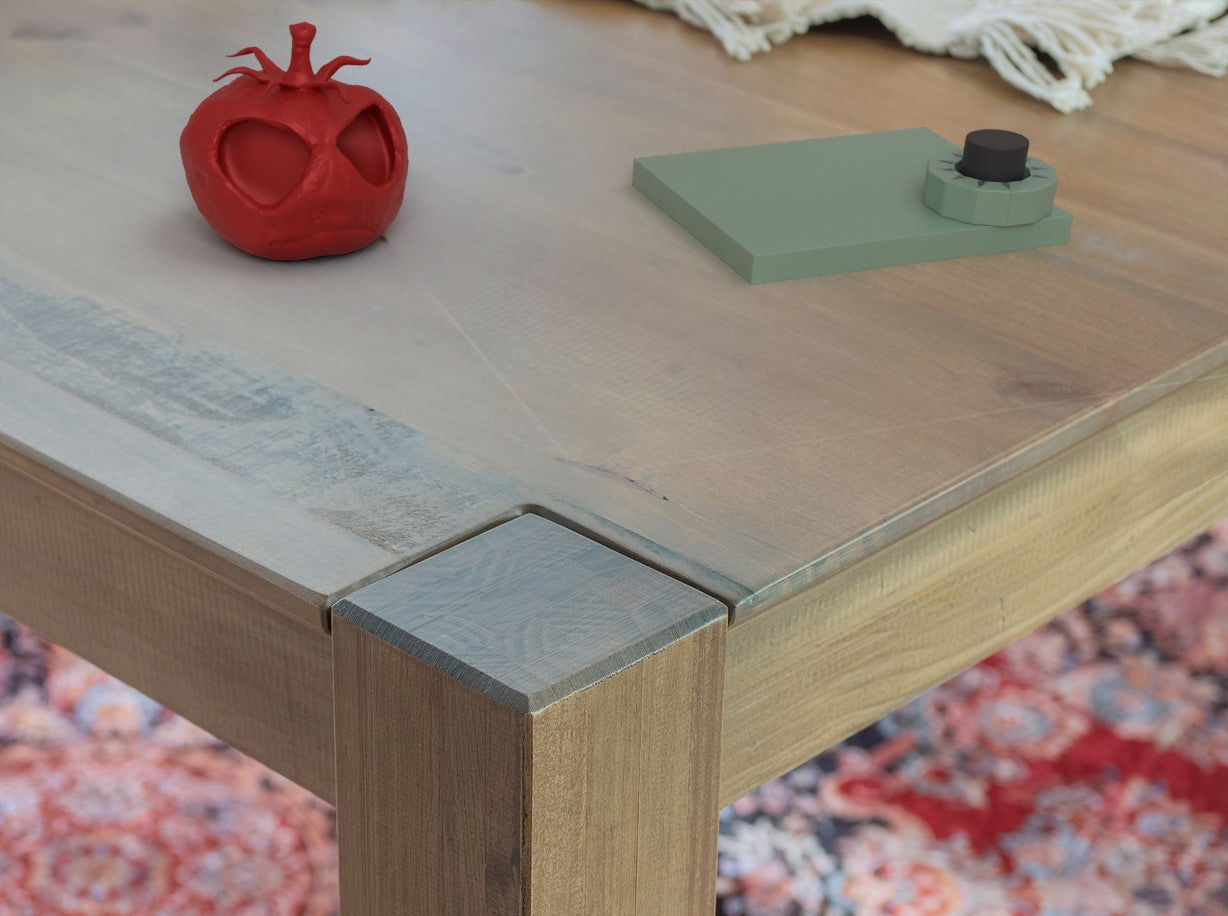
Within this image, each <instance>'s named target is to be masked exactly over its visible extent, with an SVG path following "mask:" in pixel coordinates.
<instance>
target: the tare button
mask: <svg viewBox="0 0 1228 916" xmlns="http://www.w3.org/2000/svg"><path fill="white" fill-rule="evenodd" d="M963 149H964V151H963V157H962V163H961V169H960V174H962V175H963V176H966V177H970V178H973V179H977V180H981V181H987V182H1001V183H1007V182H1016V181H1022V180H1023V176H1024V171H1025V165H1026V160H1027V155H1029V149H1030V139H1029V138H1028V137H1026V136H1025V135H1023V134H1021V133H1018V132H1015V131H1010V130H1005V129H999V128H986V129H985V128H982V129H976V130H973V131H970V132H968V133H967V134H966V135H965V139H964V145H963Z"/></svg>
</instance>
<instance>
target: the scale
mask: <svg viewBox="0 0 1228 916" xmlns="http://www.w3.org/2000/svg"><path fill="white" fill-rule="evenodd" d="M963 151H964V148H961V147H960V146H958V145H956V144H954V143H953V142H952V141H950V140H948V139H947V138H945V137H943V136H942V135H940V134H938V133H937V132H935V131H933V130H932V129H930V128H928V127H926V126H921V127H912V128H911V127H910V128H902V129H893V130H884V131H876V132H875V131H874V132H866V133H856V134H847V135H838V136H828V137H820V138H811V139H800V140H792V141H783V142H782V141H781V142H773V143H765V144H755V145H745V146H736V147H726V148H718V149H708V150H699V151H690V152H681V153H671V154H663V155H662V154H661V155H654V156H653V155H652V156H644V157H643V156H642V157H635V158H633V164H632V178H631V179H632V182H631V186H632V187H633V188H634V189H636V190H637V191H638V192H639V193H641V194H642V195H643V196H644V197H645V198H646V199H647V200H648V201H650V202H651V203H653V205H655V206H656V207H657V208H658V209H659V210H660V211H662V212H663V213H664V214H665V215H667V216H668V217H669V218H671V219H672V221H674V222H675V223H676V224H677V225H679V226H680V227H681V228H682V229H683V230H685V231H686V232H687V233H688V234H689V235H690V236H692V237H693V238H694V239H695V240H696V241H698V242H699V243H700V244H701V245H702V246H703V247H705V248H706V249H707V250H708V251H710V252H711V253H712V254H713V255H714V256H716V257H717V258H718V259H720V261H721V262H722V263H724V264H725V265H726V266H727V267H729V268H730V269H731V270H732V271H733V272H735V274H737V275H738V276H740V278H742V279H743V280H744V281H745V282H746V283H748V284H749V285H750V286H756V285H763V284H771V283H780V282H786V281H787V282H788V281H794V280H801V279H807V278H808V279H810V278H817V277H825V276H831V275H833V276H834V275H837V274H838V275H839V274H848V273H855V272H863V271H869V270H871V271H872V270H879V269H884V268H893V267H900V266H909V265H916V264H923V263H931V262H939V261H946V260H953V259H954V260H955V259H961V258H970V257H978V256H983V255H984V256H985V255H992V254H999V253H1008V252H1015V251H1023V250H1031V249H1039V248H1045V247H1054V246H1060V245H1068V244H1069V239H1070V235H1071V234H1070V233H1071V229H1072V225H1073V219H1074V215H1073V214H1072V213H1069V212H1068V211H1066V210H1064V209H1063V208H1061V207H1059V206H1058V205H1056V204H1055V202H1054V201H1055V198H1056V193H1057V186H1058V182H1059V178H1058V173H1057V169H1056V168H1055V167H1054V166H1052V165H1050V164H1048V163H1047V162H1045V161H1043V160H1042V159H1041V158H1038V157H1035V156H1032V155H1029V154H1027V160H1026V165H1025V171H1024V176H1023V180H1022V181H1016V182H1007V183H1001V182H987V181H981V180H977V179H973V178H970V177H966V176H963V175H962V174H960V169H961V163H962V157H963Z"/></svg>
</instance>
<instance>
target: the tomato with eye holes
mask: <svg viewBox="0 0 1228 916" xmlns="http://www.w3.org/2000/svg"><path fill="white" fill-rule="evenodd" d="M288 29H289V34H290V37H291V51H290V61H289V66H288V68H287V70H286V71H285V70H283V69H282V68H280V67H279V66H278V65H277V64H276V63H275V62H274V61H273V60H271V59H270V58H269V57H268V56H267V55H266V54H265V52H264V51H263V50H262V49H261V48H259V47H258V46H246V47H244V48H242V49H241V50H239V51H237V52H236V53H234V54H230V55H227V54H226V55H225V58H237V57H242V56H247V55H250V54H254V57H255V58H256V60H257V61H258V63H259V65H260V67H261V69H260V70H256V69H253V68H250V67H248V66H236V67H233V68H231V69H228V70H227V71H225V72H224V73H222V74H221V75H220V76H218V77H217V78H215V79H212V82H213V83H217V82H219V81H221V80H223V79H224V78H226V77H228V76H230V75H239V74H240V75H239V76H237V77H236V78H235V79H233V80H232V81H230V82H229V83H228V84H225V85H223V86H222V87H219V88H218V89H216V90H215V91H213V93H211V94H209V96H207V97H205V98H204V99H203V100H202V101H201V103H200V104H198V106H197V107H196V108H195V109H194V111H193V112H192V113H191V115H190V116H189V119H188V121H187V123H186V125H185V127H183V129H182V131H181V133H180V137H179V141H178V145H179V153H180V158H181V162H182V167H183V170H184V174H185V179H186V183H187V186H188V188H189V191H190V195H191V197H192V200H193V201H194V203H195V206H196V208H197V209H198V212H199V213H200V214H201V216H202V217H203V218H204V219H205V221H206V223H207V224H208V225H209V226H210V227H211V228H212V229H214V230H215V231H216V232H217V233H218V235H219V236H220V237H221V238H222V239H224V240H225V241H226V242H228V243H230V244H231V245H233V246H234V247H236V248H237V249H239V250H241V251H243V252H245V253H247V254H249V255H251V256H254V257H259V258H264V259H267V260H268V259H269V260H274V261H299V260H308V259H312V258H318V257H324V256H333V255H335V256H336V255H346V254H347V253H352V252H356V251H358V250H361V249H363V248H366V247H368V246H369V245H371V244H372V243H373V242H374V241H376V239H378V238H379V237H380V236H381V235H382V234H383V233H384V232H385V231H386V230H387V229H388V228H389V227H390V226H391V224H392V223H393V222H394V221H395V219H396V218H397V216H398V215H399V212H400V209H401V207H402V205H403V202H404V198H405V190H406V184H407V178H408V174H409V163H410V160H409V146H408V145H409V144H408V142H407V141H408V140H407V139H408V138H407V136H406V132H405V129H404V126H403V124H402V123H403V122H402V120H401V118H400V116H399V113H398V112H397V111H396V109H395V107H394V105H393V104H392V103H390V102H389V101H388V100H387V99H386V98H385V97H384V96H383V95H382V94H381V93H379V92H377V90H374V89H372V88H370V87H369V86H365V85H360V84H348V83H345V82H342V81H339V80H337V79H333V78H332V77H334V75H335V74H336V73H337V72H338V71H339V70H340V69H342V67H344V66H358V67H360V66H361V67H363V66H367V65H369V64H370V63H371V61H372V57H369V58H368V59H360V58H355V57H353V56H350V55H338V56H336V57H335V58H333V59H331V60H330V61H329V62H327V63H325V64H323V65H322V66H320V68H319V69H318V71H317V72H316V73H314V70H313V66H312V61H311V49H312V48H311V46H312V44H313V42H314V40H315V37H316V35H317V26H316V25H315V24H312V23H310V22H307V21H302V22H298V23H293V24H289V25H288Z"/></svg>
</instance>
